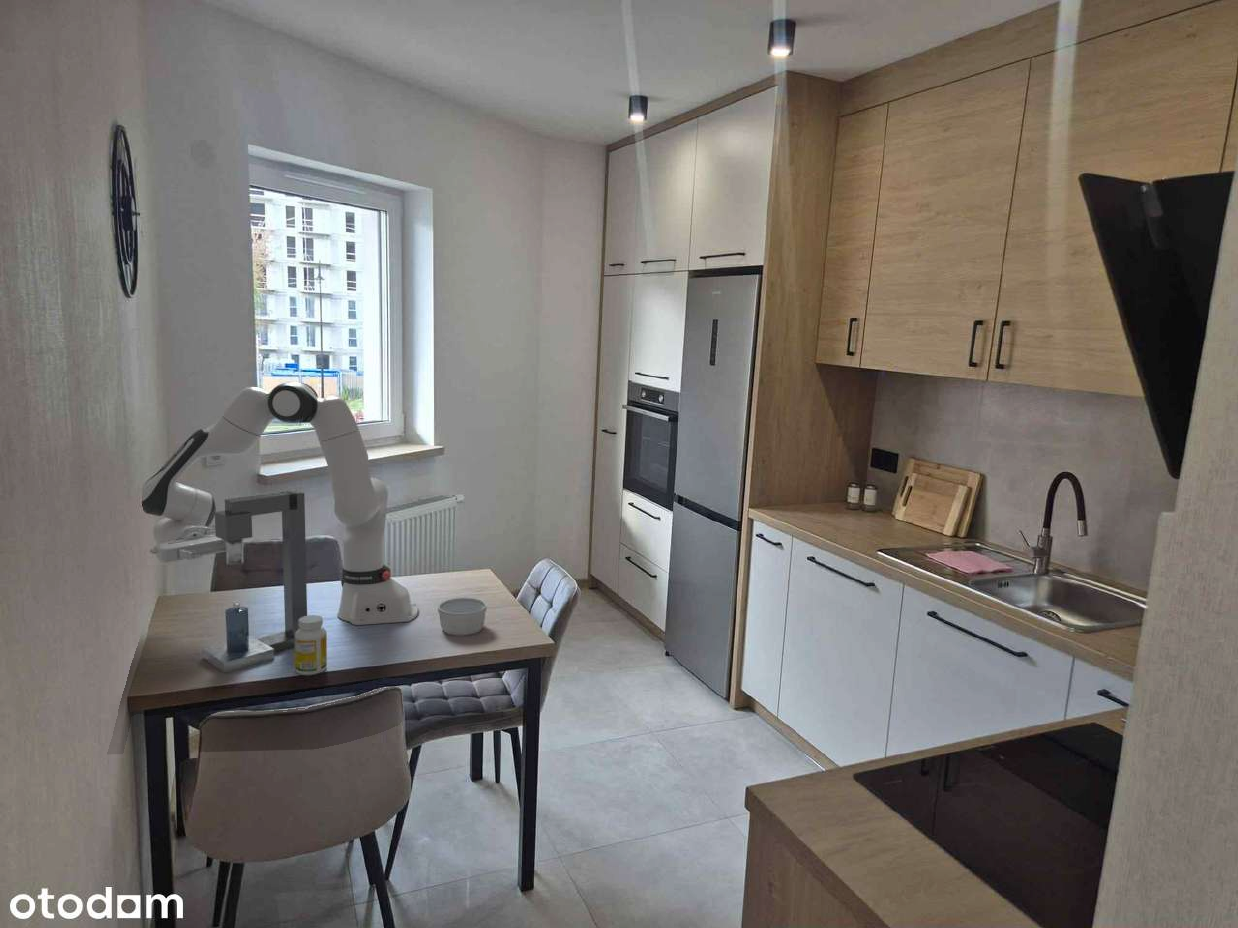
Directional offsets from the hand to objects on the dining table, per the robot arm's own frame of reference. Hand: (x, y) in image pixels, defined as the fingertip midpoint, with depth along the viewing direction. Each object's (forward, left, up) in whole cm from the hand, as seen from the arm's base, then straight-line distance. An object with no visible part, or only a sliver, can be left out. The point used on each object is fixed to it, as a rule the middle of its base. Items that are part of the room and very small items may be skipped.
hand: (213, 552), depth 197 cm
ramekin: (-61, -10, -25) cm, 67 cm away
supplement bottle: (-27, +16, -25) cm, 40 cm away
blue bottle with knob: (-8, +9, -22) cm, 25 cm away
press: (-12, +5, -25) cm, 28 cm away
